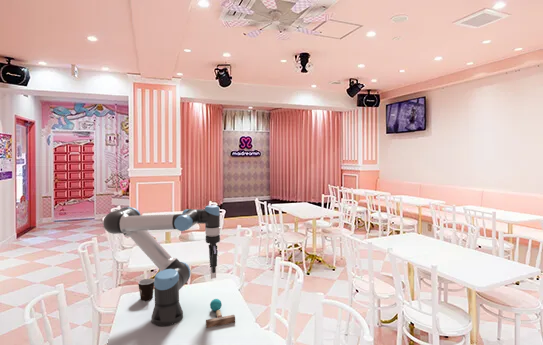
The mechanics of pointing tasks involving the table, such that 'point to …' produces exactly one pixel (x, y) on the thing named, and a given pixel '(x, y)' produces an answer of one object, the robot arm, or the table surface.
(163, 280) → the robot arm
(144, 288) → the coffee mug
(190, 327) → the table surface
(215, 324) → the back wall
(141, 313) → the table surface
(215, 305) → the ball
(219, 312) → the pin
